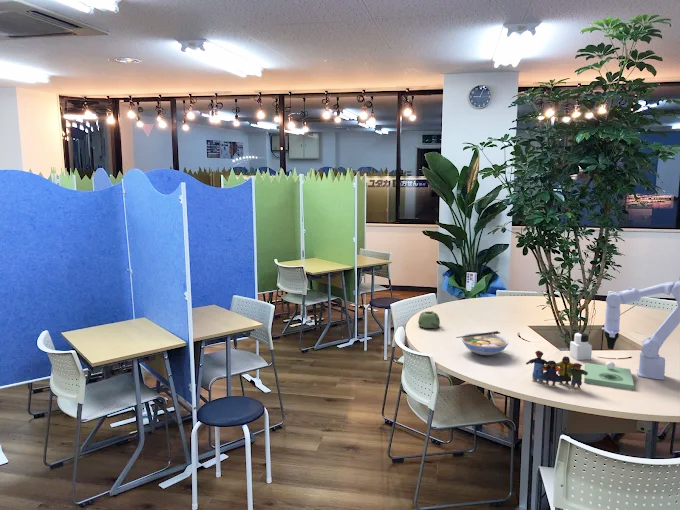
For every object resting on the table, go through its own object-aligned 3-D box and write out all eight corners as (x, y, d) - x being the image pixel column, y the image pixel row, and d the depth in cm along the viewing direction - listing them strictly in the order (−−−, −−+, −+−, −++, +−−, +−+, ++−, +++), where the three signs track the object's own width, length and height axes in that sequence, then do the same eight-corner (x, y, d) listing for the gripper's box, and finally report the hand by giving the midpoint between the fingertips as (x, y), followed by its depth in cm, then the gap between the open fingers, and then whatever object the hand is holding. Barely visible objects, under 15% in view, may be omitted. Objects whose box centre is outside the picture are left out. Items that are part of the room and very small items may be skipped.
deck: (629, 373, 216) (630, 369, 216) (633, 390, 198) (633, 385, 198) (584, 366, 224) (584, 362, 224) (584, 382, 206) (584, 378, 206)
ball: (614, 368, 216) (614, 360, 216) (614, 371, 213) (615, 363, 213) (605, 367, 218) (605, 359, 217) (605, 369, 215) (606, 362, 214)
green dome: (437, 330, 283) (437, 316, 282) (415, 328, 288) (415, 314, 287) (442, 323, 297) (443, 309, 296) (422, 321, 302) (422, 307, 301)
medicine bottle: (583, 354, 240) (585, 331, 238) (591, 359, 233) (592, 335, 231) (569, 355, 240) (570, 331, 238) (576, 360, 233) (578, 336, 231)
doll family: (527, 385, 204) (528, 355, 202) (524, 377, 212) (526, 348, 210) (587, 391, 198) (589, 359, 196) (582, 382, 206) (584, 352, 205)
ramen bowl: (474, 364, 229) (474, 347, 228) (450, 348, 251) (451, 333, 250) (520, 358, 236) (520, 342, 235) (493, 344, 257) (493, 329, 256)
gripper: (602, 314, 227) (600, 342, 229) (602, 322, 214) (600, 352, 216) (619, 316, 224) (617, 344, 226) (621, 324, 211) (619, 354, 213)
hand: (610, 348), depth 221 cm, fingers closed
